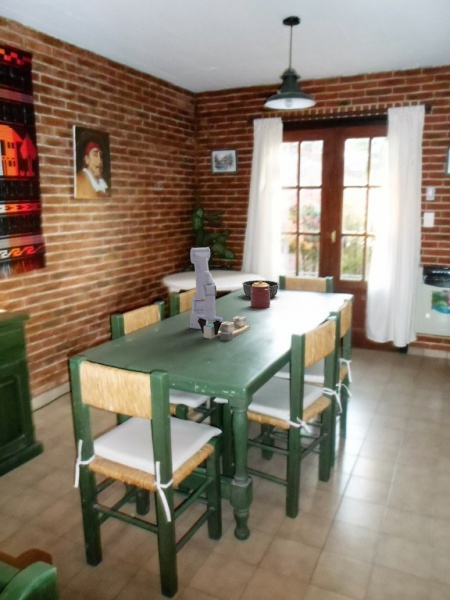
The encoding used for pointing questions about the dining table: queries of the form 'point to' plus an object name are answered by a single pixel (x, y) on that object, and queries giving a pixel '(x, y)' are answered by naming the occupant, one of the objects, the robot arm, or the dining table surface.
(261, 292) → the canister
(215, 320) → the robot arm
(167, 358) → the dining table surface
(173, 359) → the dining table surface
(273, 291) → the bundt pan
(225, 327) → the board
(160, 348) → the dining table surface
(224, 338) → the box
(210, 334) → the block
